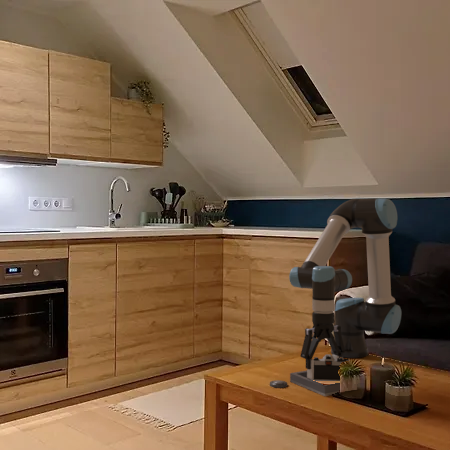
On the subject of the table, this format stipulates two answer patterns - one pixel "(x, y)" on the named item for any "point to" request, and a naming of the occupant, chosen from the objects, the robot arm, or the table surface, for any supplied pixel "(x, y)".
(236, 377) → the table surface
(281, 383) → the lens cap
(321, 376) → the camera
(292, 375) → the case tray
